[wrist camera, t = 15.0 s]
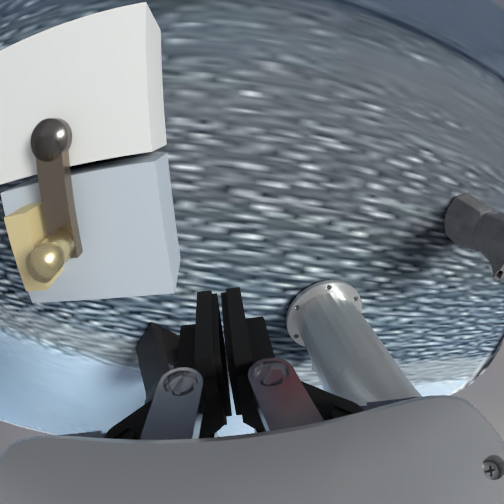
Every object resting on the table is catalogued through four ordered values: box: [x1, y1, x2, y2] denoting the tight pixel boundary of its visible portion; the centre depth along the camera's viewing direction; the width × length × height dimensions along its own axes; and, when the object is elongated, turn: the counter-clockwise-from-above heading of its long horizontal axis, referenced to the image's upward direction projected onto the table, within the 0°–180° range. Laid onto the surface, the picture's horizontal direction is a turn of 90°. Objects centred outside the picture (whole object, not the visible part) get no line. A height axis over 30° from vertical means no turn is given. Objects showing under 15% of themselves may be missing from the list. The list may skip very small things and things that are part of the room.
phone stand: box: [136, 322, 180, 404], centre depth 41 cm, size 9×6×12 cm, turn 54°
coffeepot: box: [444, 193, 504, 281], centre depth 36 cm, size 15×9×18 cm, turn 125°
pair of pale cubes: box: [0, 2, 181, 303], centre depth 27 cm, size 30×19×14 cm, turn 3°
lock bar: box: [26, 118, 83, 283], centre depth 22 cm, size 14×4×6 cm, turn 0°
